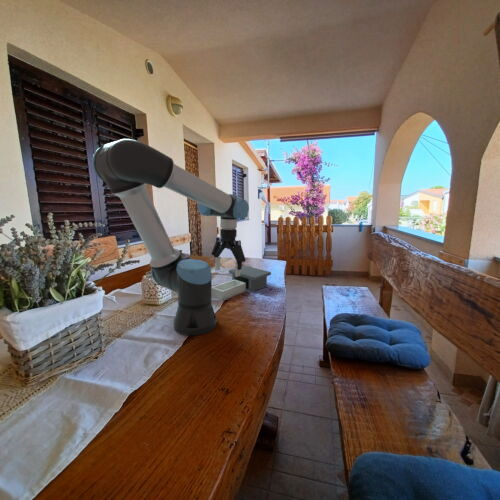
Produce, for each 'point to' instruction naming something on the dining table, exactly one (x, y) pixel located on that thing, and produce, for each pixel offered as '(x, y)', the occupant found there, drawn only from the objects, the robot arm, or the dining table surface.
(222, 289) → the pale green open box
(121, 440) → the dining table surface
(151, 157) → the robot arm
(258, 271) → the grey drawer cabinet
